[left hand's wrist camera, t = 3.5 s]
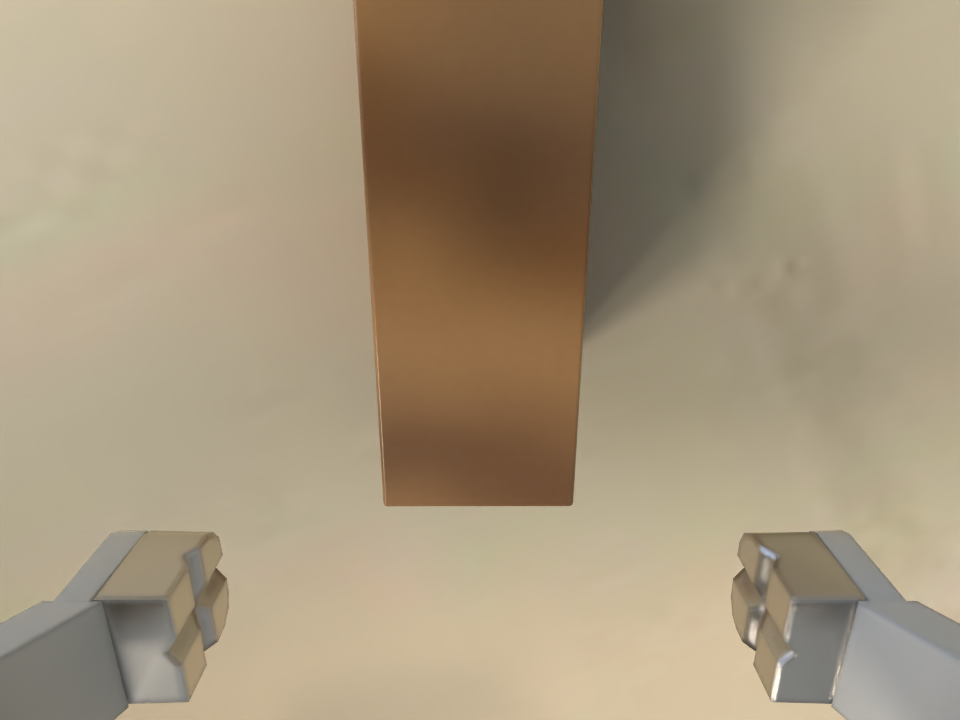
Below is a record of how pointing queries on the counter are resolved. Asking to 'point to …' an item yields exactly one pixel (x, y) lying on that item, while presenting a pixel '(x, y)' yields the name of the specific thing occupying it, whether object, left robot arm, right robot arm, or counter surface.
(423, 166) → the bar
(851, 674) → the left robot arm
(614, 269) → the counter surface
